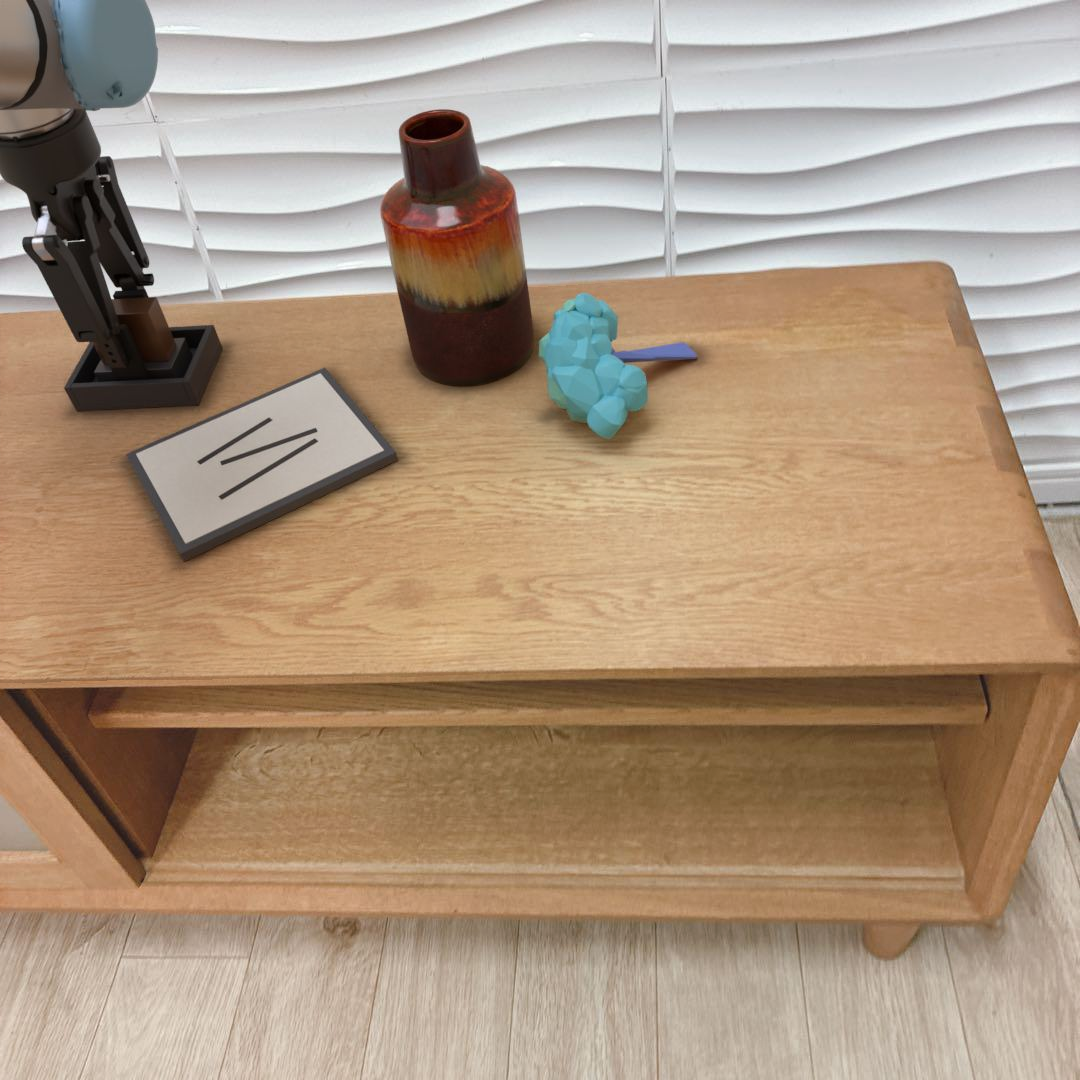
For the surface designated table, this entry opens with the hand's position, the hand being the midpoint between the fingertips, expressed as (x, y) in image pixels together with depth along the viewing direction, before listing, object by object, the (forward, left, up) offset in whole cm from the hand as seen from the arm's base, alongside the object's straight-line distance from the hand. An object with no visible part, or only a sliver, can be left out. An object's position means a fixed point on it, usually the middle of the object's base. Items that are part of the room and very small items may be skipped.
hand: (147, 370), depth 96 cm
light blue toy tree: (+30, -29, -1) cm, 42 cm away
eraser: (0, 0, 0) cm, 0 cm away
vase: (+25, -15, -1) cm, 29 cm away
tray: (0, 0, -1) cm, 1 cm away
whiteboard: (+4, -17, -1) cm, 17 cm away
